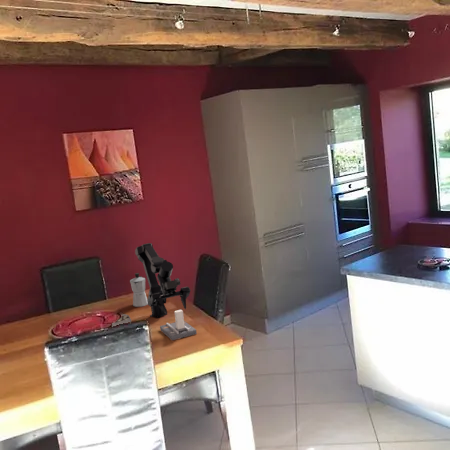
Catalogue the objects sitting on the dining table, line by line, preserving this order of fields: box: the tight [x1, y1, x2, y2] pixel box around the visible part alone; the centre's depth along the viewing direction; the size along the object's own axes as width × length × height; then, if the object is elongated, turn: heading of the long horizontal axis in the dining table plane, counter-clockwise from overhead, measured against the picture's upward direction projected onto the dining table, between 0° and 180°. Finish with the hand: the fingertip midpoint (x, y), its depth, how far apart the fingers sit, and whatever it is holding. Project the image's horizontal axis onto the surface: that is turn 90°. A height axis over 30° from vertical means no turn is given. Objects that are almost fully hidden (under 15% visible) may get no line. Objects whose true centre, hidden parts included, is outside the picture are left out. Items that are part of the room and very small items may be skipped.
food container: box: [111, 314, 132, 328], centre depth 231 cm, size 12×6×10 cm, turn 168°
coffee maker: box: [129, 272, 148, 308], centre depth 281 cm, size 15×9×18 cm, turn 179°
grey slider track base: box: [159, 320, 197, 341], centre depth 234 cm, size 16×12×3 cm
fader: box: [173, 309, 186, 332], centre depth 229 cm, size 3×4×9 cm
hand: (176, 310), depth 231 cm, fingers open, 9 cm apart
